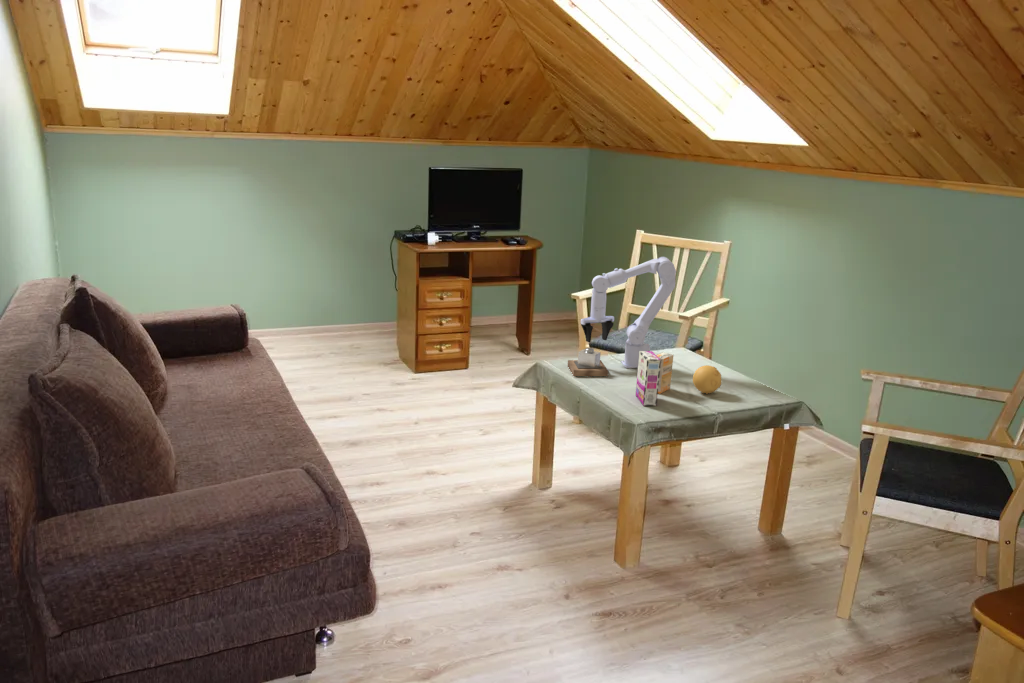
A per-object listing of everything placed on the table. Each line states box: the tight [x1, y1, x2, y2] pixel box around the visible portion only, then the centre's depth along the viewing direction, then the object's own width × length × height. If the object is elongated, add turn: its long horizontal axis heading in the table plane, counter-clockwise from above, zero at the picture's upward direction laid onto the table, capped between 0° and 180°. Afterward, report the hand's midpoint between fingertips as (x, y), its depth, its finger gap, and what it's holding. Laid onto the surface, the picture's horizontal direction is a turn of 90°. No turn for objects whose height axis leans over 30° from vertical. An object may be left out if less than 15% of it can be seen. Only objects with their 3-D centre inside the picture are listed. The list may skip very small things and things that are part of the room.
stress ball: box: [692, 365, 722, 395], centre depth 282 cm, size 10×10×10 cm
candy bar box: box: [635, 350, 661, 407], centre depth 271 cm, size 11×5×16 cm, turn 5°
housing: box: [577, 347, 601, 368], centre depth 301 cm, size 5×9×6 cm, turn 58°
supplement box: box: [655, 352, 675, 395], centre depth 282 cm, size 8×5×13 cm, turn 143°
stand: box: [567, 359, 609, 378], centre depth 302 cm, size 13×13×3 cm
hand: (596, 340), depth 310 cm, fingers open, 7 cm apart
